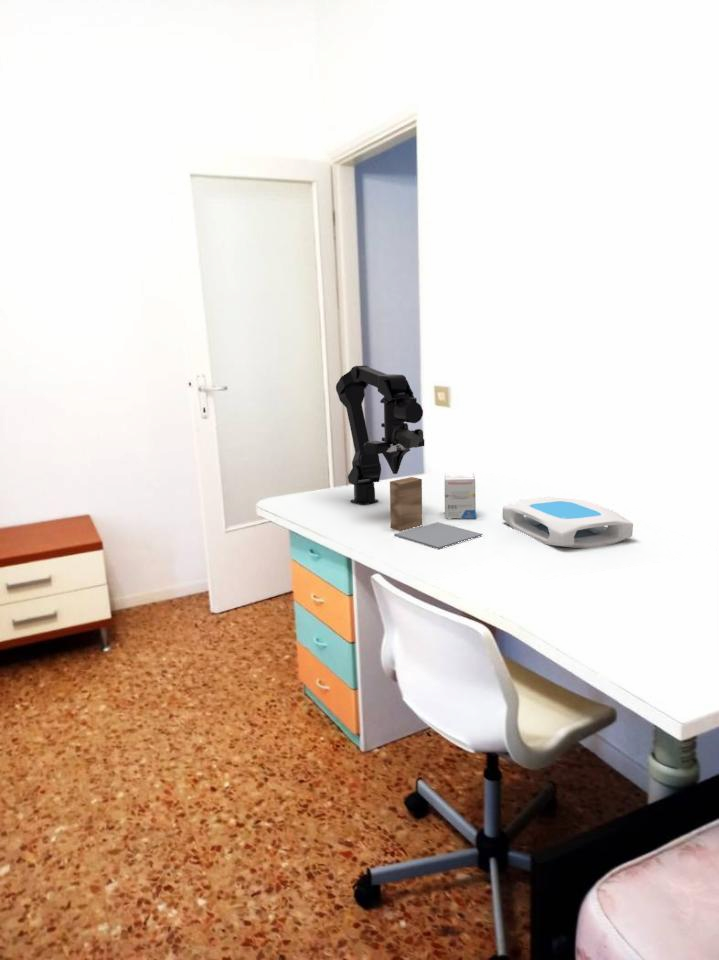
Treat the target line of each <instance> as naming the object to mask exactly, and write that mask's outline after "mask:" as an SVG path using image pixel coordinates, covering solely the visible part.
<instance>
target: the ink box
mask: <svg viewBox="0 0 719 960" xmlns="http://www.w3.org/2000/svg"><path fill="white" fill-rule="evenodd" d="M476 502H477V501H476V476H475V474H474V473H470V472H469V473H462V472H461V473H451V472H450V473H444V516H445V519H446V518H449V519H448V520H451V519H450V518H457V519H456V520H459V519H458V518H462V519H461V520H464V519H463V518H476V519H477V515H476V509H477V508H476Z"/></svg>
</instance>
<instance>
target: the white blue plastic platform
mask: <svg viewBox="0 0 719 960" xmlns="http://www.w3.org/2000/svg"><path fill="white" fill-rule="evenodd" d="M502 520H503V521H504V522H505V523H507V524H508V525H509V526H510V527H511V528H512V529H513V528H514V530H515V529H516V530H515V531H517V530H518V531H517V532H519V531H520V532H519V533H521V532H522V533H521V534H523V533H524V534H523V535H525V534H526V536H527V535H528V537H529V536H530V538H531V537H532V539H533V538H534V539H533V540H535V541H537V542H540V543H542V544H544V545H547V546H553V547H554V546H556V547H563V548H571V549H572V548H574V549H589V548H596V547H603V546H611V545H615V544H617V543H620V542H621V541H624V540H626V539H629V538H631V537H633V532H634V522H632V521H631V520H628V519H627V518H625V517H624V516H622V515H621V514H619V512H616V511H614V510H613V509H610V508H607V507H605V506H602V505H598V504H595V503H593V502H590V501H587V500H582V499H576V498H575V499H574V498H566V497H565V498H563V497H555V496H542V497H541V496H540V497H534V498H524V499H519V500H517V501H515V502H513V503H512V502H511V503H509V504H507V505H505V506H502ZM537 525H544V526H545V527H547V530H548V532H549V533H548V532H546V531H544V530H542V529H539V528H537V527H536V526H537ZM581 530H586V531H590V532H591V533H594V534H595V535H589V536H581V537H575V535H576V534H577V532H578V531H581Z"/></svg>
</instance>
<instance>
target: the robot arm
mask: <svg viewBox="0 0 719 960" xmlns="http://www.w3.org/2000/svg"><path fill="white" fill-rule="evenodd" d="M369 385H370V386H373V387H374V388H377V392H378V393H379V394H381V395H382V396H383V397H382V399H380V400H379V402H380V403H381V404H383V421H384V422H382V423H381V425H380V426H381V428H383V429H384V437H381V440H380V441H379V440H370V439H369V435H368V429H367V424H366V418H365V415H364V413H365V412H364V409H363V402H364V398H365V396H366V394H365V393H366V392H365V390H366V389H367V387H368V386H369ZM335 390H336V394H337V395H338V399H339V401H340V402H341V404H342V405H343V406H344V407H345V408H346V413H347V418H348V423H349V427H350V433H351V438H352V442H353V448H354V456H353V458H352V461H351V464H352V465H351V466H352V468H351V470H350V471H349V473H348V475H347V481H348V483H349V484H351V485H352V486H353V492H354V493H353V495H354V499H350V503H354V502H355V503H354V504H358V503H359V505H362V504H365V505H369V504H374V503H377V502H379V499H377V498H376V487H375V483H379V482H380V478H381V473H382V464H381V461H380V456H379V455H380V454H382V456H383V457H384V458H385V460H386V462H387V465H388V466H389V468H390V471H391V472H392V474H393V475H397V474H398V473H399V470H400V466H401V465H402V461H403V459H404V456H405V455H406V454H407V453H409V452H410V451H411V449H413V448H420V447H425V438H424V430H423V429H421V428H417V429H414V430H413V429H412V430H410V429H409V424H410V423H411V424H416V423H418V422H420V421H421V420H422V418H423V416H424V415H423V414H424V409H423V408H422V405H421V404H420V403H419V402H417V401H418V400H417V397H415V395H414V392H413V390H412V388H411V387H410V384H409V381H408V380H407V377H406V376H405V375H403V374H393V373H392V374H389V373H388V374H387V373H384V372H382V371H379V370H376V369H374V368H372V367H370V366H368V365H354V366H353V367H351V368H350V370H349V371H347V372H346V373H345V374H343V375H341V377H340V378H339V380H338V381H337V383H336V384H335ZM408 423H409V424H408ZM373 502H374V503H373ZM368 503H369V504H368Z"/></svg>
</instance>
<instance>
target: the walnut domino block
mask: <svg viewBox="0 0 719 960" xmlns="http://www.w3.org/2000/svg"><path fill="white" fill-rule="evenodd" d="M422 481H423V479H422V478H418V477H413V476H411V477H405V478H400V479H395V480H391V481H389V499H390V500H389V505H390V508H389V510H390V515H389V516H390V529H391V528H392V530H395V531H398V530H399V532H404V531H407V530H406V529H408V530H411V529H414V528H413V527H415V528H418V527H417V526H419V527H421V526H420V525H422V526H423V482H422ZM410 528H411V529H410ZM403 530H404V531H403Z"/></svg>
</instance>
